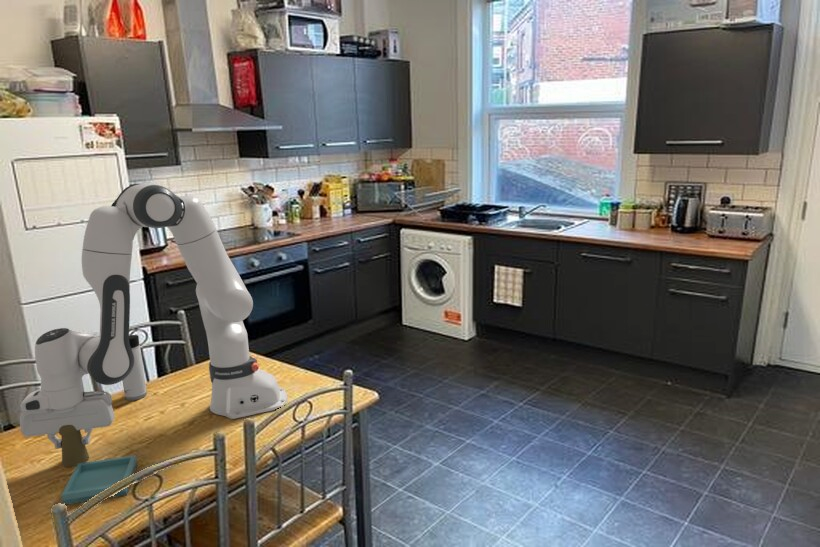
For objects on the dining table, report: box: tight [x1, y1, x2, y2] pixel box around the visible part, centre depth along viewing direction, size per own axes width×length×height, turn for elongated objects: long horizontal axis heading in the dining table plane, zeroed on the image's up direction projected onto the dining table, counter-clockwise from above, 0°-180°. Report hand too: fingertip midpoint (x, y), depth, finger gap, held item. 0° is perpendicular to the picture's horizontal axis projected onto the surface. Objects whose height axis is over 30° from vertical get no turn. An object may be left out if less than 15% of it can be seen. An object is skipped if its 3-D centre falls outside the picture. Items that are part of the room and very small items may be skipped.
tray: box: [61, 454, 138, 505], centre depth 139 cm, size 13×13×3 cm
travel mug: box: [121, 334, 148, 401], centre depth 181 cm, size 6×7×20 cm
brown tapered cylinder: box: [58, 425, 90, 468], centre depth 148 cm, size 6×6×11 cm
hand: (73, 445), depth 148 cm, fingers closed on brown tapered cylinder, 5 cm apart
